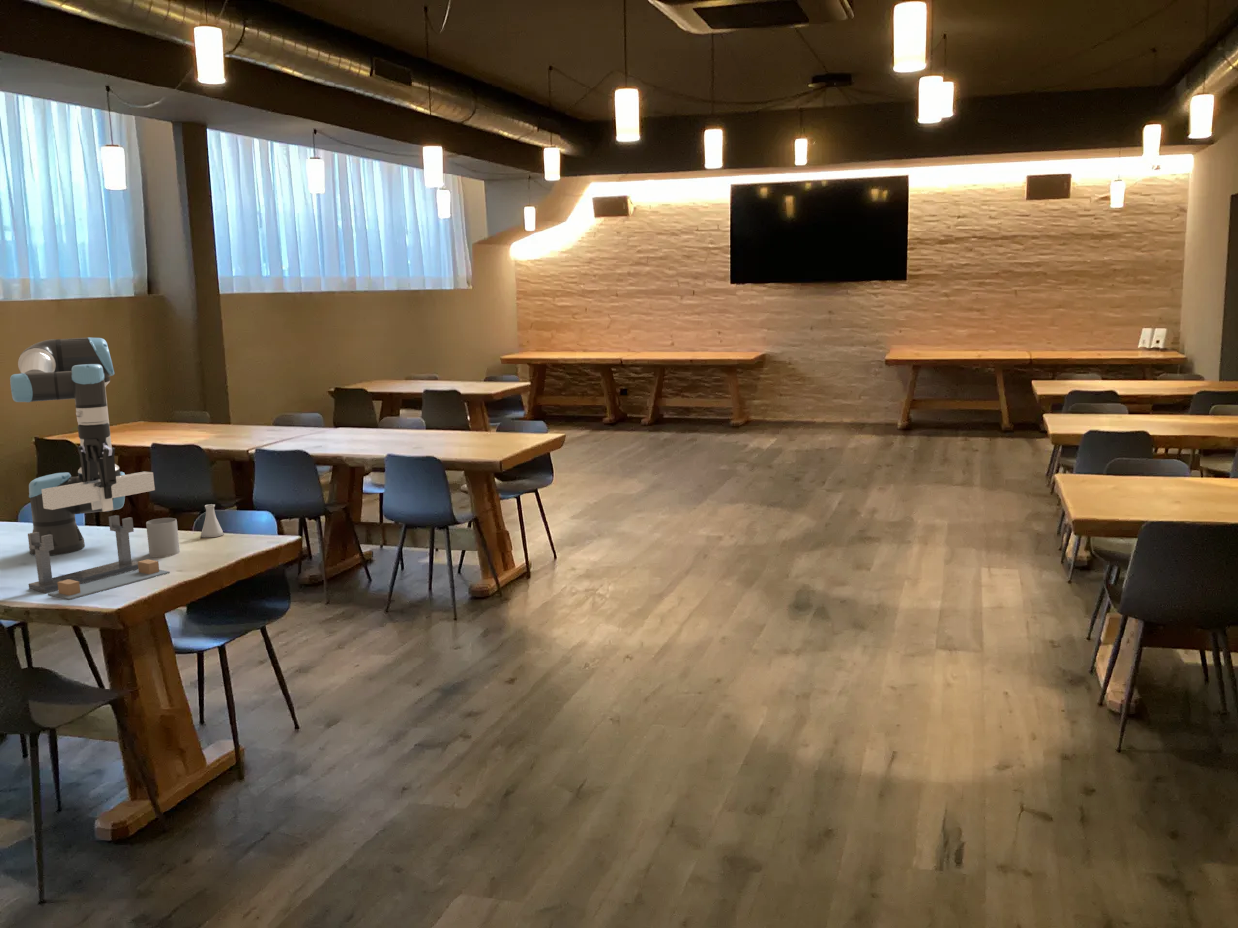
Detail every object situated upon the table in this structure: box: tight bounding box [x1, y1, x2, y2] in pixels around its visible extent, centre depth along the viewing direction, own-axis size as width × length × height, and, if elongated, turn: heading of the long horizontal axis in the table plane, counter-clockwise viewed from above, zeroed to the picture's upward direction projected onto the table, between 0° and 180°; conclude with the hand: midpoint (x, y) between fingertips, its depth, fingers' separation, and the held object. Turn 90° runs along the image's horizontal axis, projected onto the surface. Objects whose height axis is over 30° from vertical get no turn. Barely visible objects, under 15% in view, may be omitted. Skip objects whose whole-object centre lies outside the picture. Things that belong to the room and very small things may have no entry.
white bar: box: [41, 471, 156, 510], centre depth 284 cm, size 4×29×5 cm, turn 147°
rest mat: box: [47, 558, 171, 601], centre depth 288 cm, size 10×29×3 cm, turn 147°
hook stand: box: [27, 514, 139, 594], centre depth 293 cm, size 8×28×15 cm, turn 147°
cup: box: [145, 517, 181, 558], centre depth 319 cm, size 8×8×10 cm
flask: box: [200, 503, 224, 538], centre depth 341 cm, size 7×7×10 cm
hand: (102, 509), depth 284 cm, fingers closed on white bar, 4 cm apart
